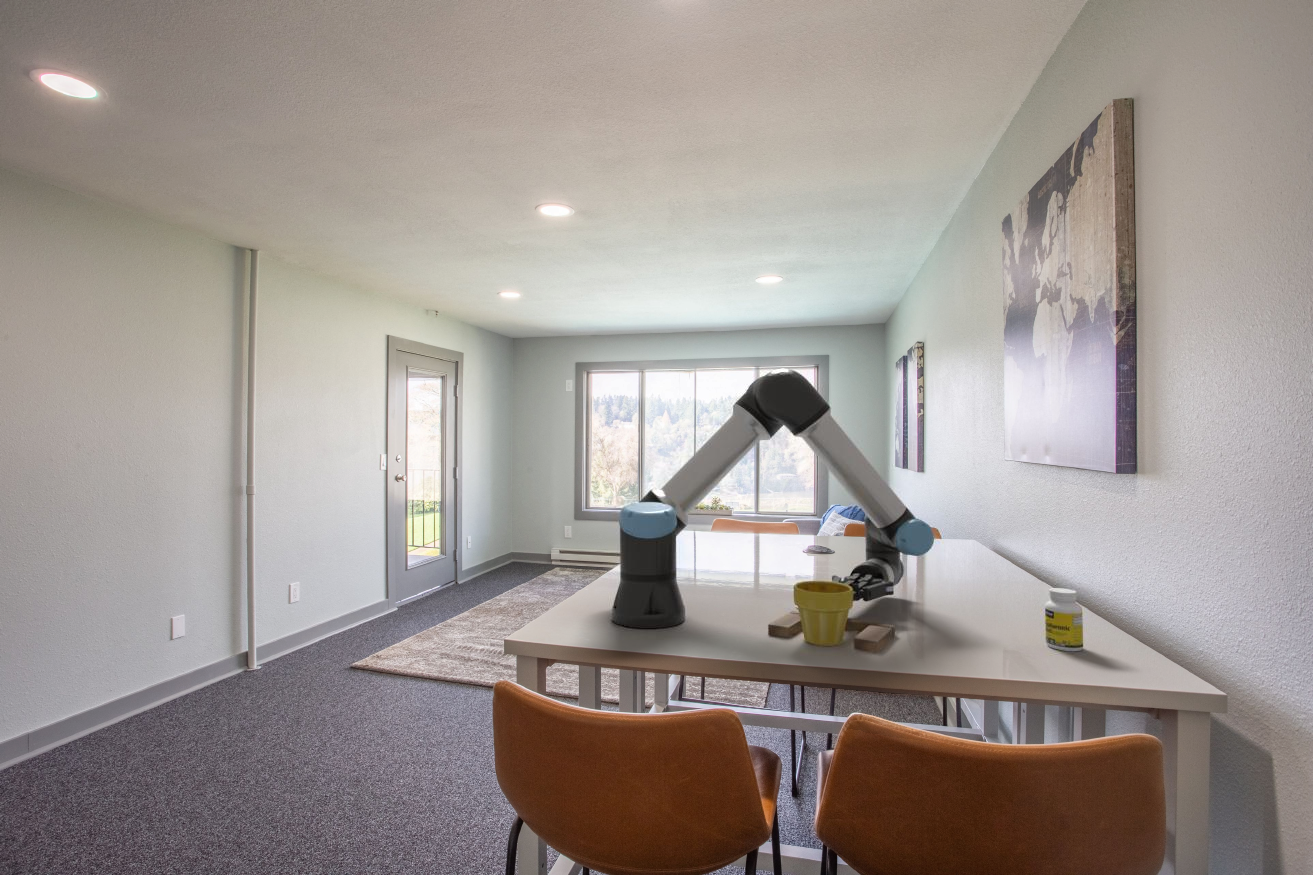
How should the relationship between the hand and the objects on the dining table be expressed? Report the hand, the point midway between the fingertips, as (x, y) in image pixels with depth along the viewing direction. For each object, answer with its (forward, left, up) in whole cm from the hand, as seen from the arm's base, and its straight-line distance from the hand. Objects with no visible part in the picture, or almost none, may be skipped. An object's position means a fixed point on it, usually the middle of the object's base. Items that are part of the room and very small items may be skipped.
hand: (837, 599), depth 115 cm
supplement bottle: (+35, +14, -7) cm, 38 cm away
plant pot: (-1, -5, -6) cm, 8 cm away
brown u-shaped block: (-1, -2, -6) cm, 7 cm away
